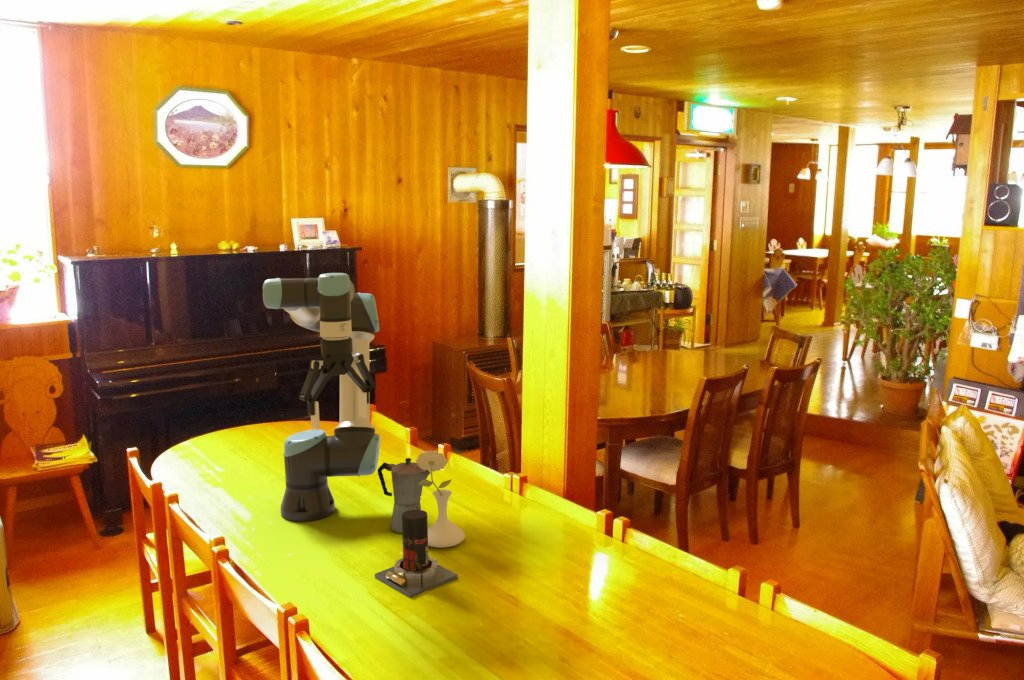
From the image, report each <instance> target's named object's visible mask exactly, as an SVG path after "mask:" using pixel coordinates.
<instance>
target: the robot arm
mask: <svg viewBox="0 0 1024 680" xmlns="http://www.w3.org/2000/svg"><path fill="white" fill-rule="evenodd" d="M350 278H351V277H350V275H349V274H347V273H345V272H327V273H321V274H319V276H318V277H306V278H303V277H302V278H301V277H300V278H297V277H296V278H295V277H293V278H280V277H276V278H268V279H267V278H266V280H264V282H263V284H262V300H263V305H264V306H265V308H267V309H272V310H273V309H274V310H279V309H280V310H281V309H283V310H284V312H287V313H288V314H289V317H290V319H291V320H292V322H294V324H296V325H298V326H300V327H302V328H305V329H308V330H311V331H312V332H313V331H314V332H318V333H319V336H320V337H321V339H320V353H321V359H320V360H315V359H310V360H309V369H308V371H307V375H306V376H305V377H306V378H305V380H304V382H303V385H302V388H301V391H300V394H299V396H298V399H299V400H300V401H303V402H306V406H307V414H308V416H310V427H311V428H312V429H305V430H303V431H299V432H295V433H293V434H290V435H289V436H288V437H286V439H285V440H284V443H283V455H282V456H283V459H284V473H285V474H284V475H285V479H284V480H285V488H284V490H285V491H284V493H283V497H282V501H281V504H280V515H281V517H282V518H283V519H285V520H288V521H293V522H310V521H317V520H320V519H324V518H326V517H329V516H331V515H332V514H333V513H334V512H335V511H336V504H335V503H336V502H335V499H334V496H333V494H332V492H331V489H330V485H329V484H328V483H329V482H328V477H330V478H332V477H334V478H335V477H354V476H355V477H361V476H371V475H373V474H374V473H375V472H376V470H377V469H378V468H377V467H378V463H379V456H380V449H381V448H380V446H381V445H380V444H381V435H380V434H378V433H376V428H375V426H373V425H372V424H371V423H370V422H371V420H370V419H371V418H370V417H371V416H370V415H371V414H370V409H371V408H370V406H371V405H370V402H371V401H370V399H371V397H370V394H371V392H372V389H375V388H376V387H377V386H376V385H377V384H376V382H375V381H374V379H373V376H372V374H371V373H370V343H371V342H372V341H373V340H374V339H375V333H377V332H380V323H379V316H378V309H377V303H376V298H375V296H374V295H373V294H372V293H368V292H367V293H365V292H363V293H362V292H355V290H356V289H355V286H354V284H353V282H352V281H351V280H350ZM321 369H322V370H321ZM320 370H321V371H320ZM319 372H320V373H319ZM318 375H319V376H318ZM337 376H339V423H338V425H337V426H335V427H334V428H333V435H327V433H326V431H325V430H323V429H321V425H320V423H321V422H320V408H319V407H320V406H319V405H320V404H319V401H317V399H318V398H319V396H320V395H321V392H322V391H323V390H324V388H325V386H326V384H327V383H328V382H329V381H330V380H331V379H332V377H337Z"/></svg>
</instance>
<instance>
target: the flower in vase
mask: <svg viewBox="0 0 1024 680" xmlns="http://www.w3.org/2000/svg"><path fill="white" fill-rule="evenodd" d="M415 463H418V464H417V465H418V466H419V468H421V469H423V470H428V471H429V472H430V473H431V474H430V477H431V480H428V479H426V480H422V481H420V482H419V483H418V485H422V486H423V487H426V488H428V487H429V488H430V487H431V486H432V485H434V487H435V488H436V490H434V491H432V496H433V497H434V498H435V500H436V503H437V510H438V511H437V518H436V520H435V522H433V523H432V524H431V525H429V526H428V547H433V548H443V549H444V548H450V547H454V546H457V545H459V544H461V543H462V542H463V541H464V539H465V537H466V536H465V533H464V530H462V528H461V527H459V526H458V525H456V524H454V523H453V522H452V521H451V520H449V518H448V512H447V511H448V509H447V508H448V502H449V499H450V496H452V494H453V493H452V490H450V489H445V488H446V487H448V485H449V486H450V483H451V482H452V478H450V479H448V480H444V481H442V482H441V483H440V484H439V486H437V485H436V483H435V482H434V480H433V473H435V472H438V471H441V470H443V469H445V467H446V466H447V464H448V459H447V458H446V455H444V454H443V453H442V452H439V451H438V450H434V451H433V450H431V449H430V450H429V451H428V450H425V451H424V452H420V454H418V455H417V457H416V460H415Z"/></svg>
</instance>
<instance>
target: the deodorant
mask: <svg viewBox="0 0 1024 680" xmlns="http://www.w3.org/2000/svg"><path fill="white" fill-rule="evenodd" d="M428 522H429V521H428V512H427V511H425V510H424V509H423V510H422V509H421V510H409V511H406V512H404V513H403V514H402V533H401V536H402V558H403V569H404V570H406V571H423V570H425V569H428V568H429V566H428V556H429V545H428V527H429V526H428Z"/></svg>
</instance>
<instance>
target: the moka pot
mask: <svg viewBox="0 0 1024 680" xmlns="http://www.w3.org/2000/svg"><path fill="white" fill-rule="evenodd" d="M404 460H405V461H404V462H400V463H396V464H395V463H388V462H382V463H381V465H380V466H379V467H378V468H377V475H378V478H379V481H380V485H381V489H382V492H383V494H384V495H385V496H389V497H392V496H394V498H393V500H394V502H393V508H392V514H391V522H390V529H391V530H392V531H393V532H395V533H399V534H402V514H403V513H404V512H406V511H409V510H422V508H421V507H422V506H421V500H422V499H421V496H422V494H423V487H424V486H422V485H418V483H419V482H420V481H422V480H428V477H429V475H431V471H430V472H429V471H428V470H423V469H421V468H419V466H418V465H417V464H418V463H416V462H412V458H409V457H408V458H405V459H404ZM383 470H386V471H388V472H390V473H391V482H392V491H393V493H392V492H389V491H388V488H387V486H386V482H385V478H384V474H383Z"/></svg>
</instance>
